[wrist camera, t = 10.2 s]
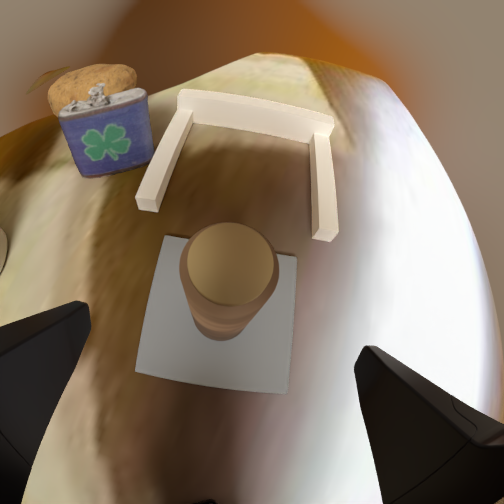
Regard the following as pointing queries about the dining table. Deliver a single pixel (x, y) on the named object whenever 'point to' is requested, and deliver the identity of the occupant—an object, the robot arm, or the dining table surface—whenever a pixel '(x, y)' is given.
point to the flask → (108, 132)
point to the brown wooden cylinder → (227, 277)
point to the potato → (90, 83)
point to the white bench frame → (255, 120)
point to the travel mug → (2, 248)
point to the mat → (211, 351)
